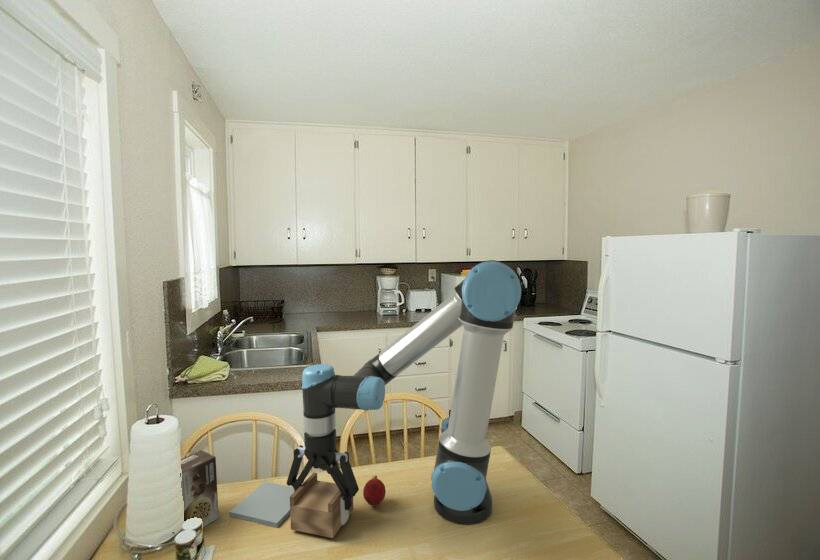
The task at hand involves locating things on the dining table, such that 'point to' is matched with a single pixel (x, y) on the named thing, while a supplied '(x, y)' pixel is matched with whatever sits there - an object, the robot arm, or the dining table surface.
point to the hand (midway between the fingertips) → (323, 516)
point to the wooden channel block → (316, 508)
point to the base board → (265, 505)
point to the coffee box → (199, 487)
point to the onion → (374, 491)
